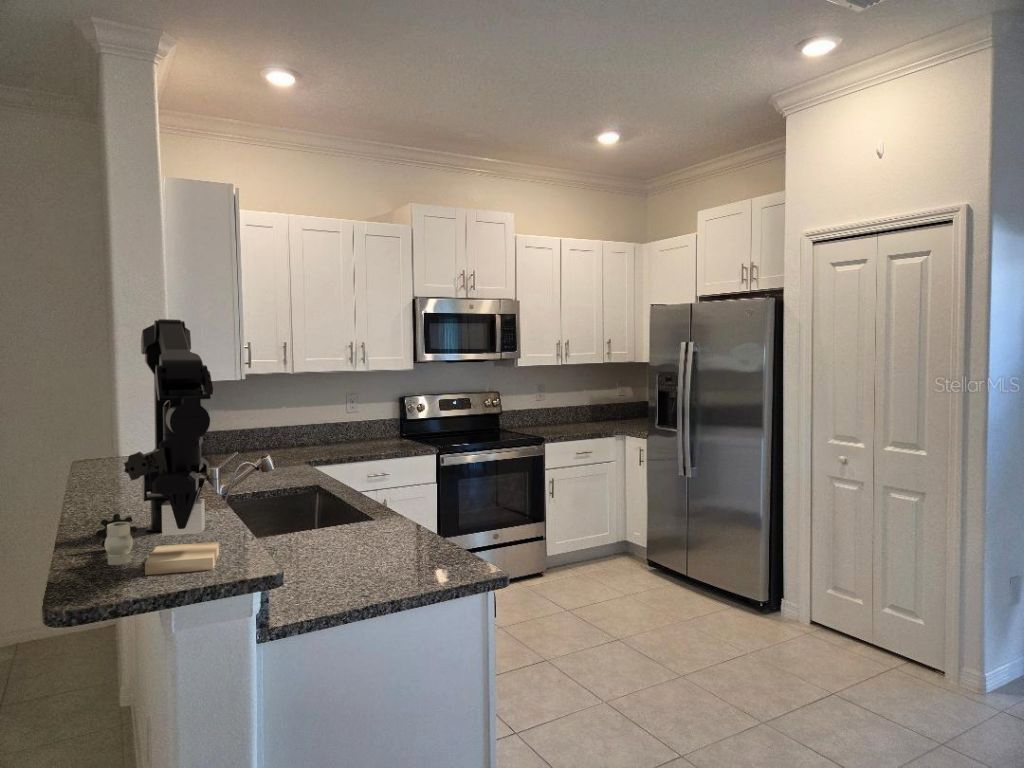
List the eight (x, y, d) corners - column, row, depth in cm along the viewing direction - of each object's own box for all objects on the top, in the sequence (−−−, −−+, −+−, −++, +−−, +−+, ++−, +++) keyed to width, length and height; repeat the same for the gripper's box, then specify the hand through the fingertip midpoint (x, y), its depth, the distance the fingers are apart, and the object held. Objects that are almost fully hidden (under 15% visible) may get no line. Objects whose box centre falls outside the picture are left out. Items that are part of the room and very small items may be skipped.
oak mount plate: (157, 557, 120) (156, 546, 120) (219, 552, 123) (219, 541, 123) (145, 575, 111) (144, 562, 110) (212, 569, 114) (212, 557, 113)
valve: (142, 562, 117) (137, 546, 128) (141, 524, 117) (137, 510, 127) (96, 568, 114) (95, 551, 124) (95, 529, 114) (95, 514, 124)
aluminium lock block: (166, 529, 118) (166, 500, 117) (204, 527, 120) (204, 498, 119) (162, 535, 114) (161, 505, 114) (201, 533, 116) (201, 503, 115)
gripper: (140, 428, 122) (142, 516, 123) (114, 441, 105) (116, 543, 105) (208, 427, 126) (210, 512, 126) (194, 439, 108) (196, 538, 109)
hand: (183, 525), depth 117 cm, fingers closed on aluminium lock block, 4 cm apart
